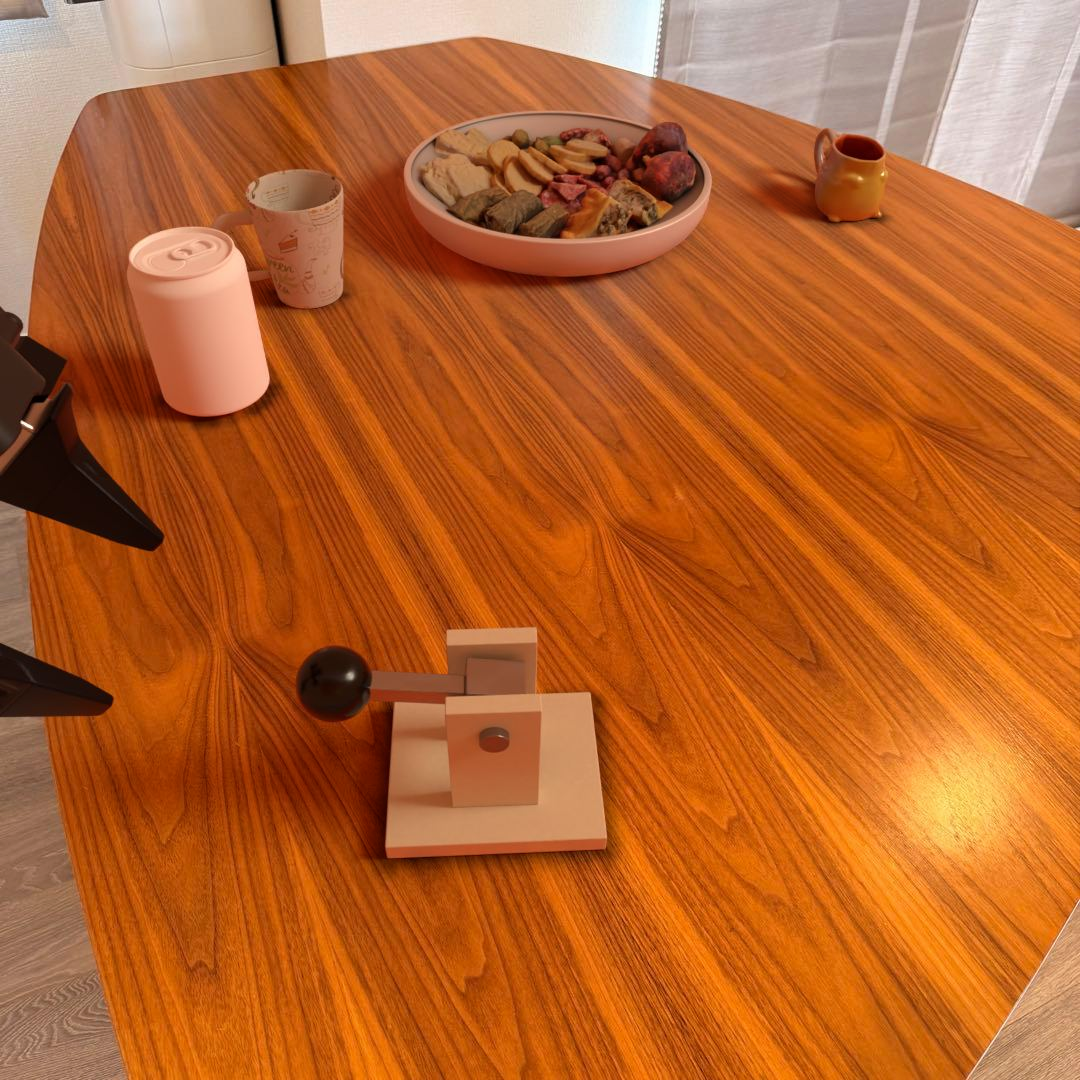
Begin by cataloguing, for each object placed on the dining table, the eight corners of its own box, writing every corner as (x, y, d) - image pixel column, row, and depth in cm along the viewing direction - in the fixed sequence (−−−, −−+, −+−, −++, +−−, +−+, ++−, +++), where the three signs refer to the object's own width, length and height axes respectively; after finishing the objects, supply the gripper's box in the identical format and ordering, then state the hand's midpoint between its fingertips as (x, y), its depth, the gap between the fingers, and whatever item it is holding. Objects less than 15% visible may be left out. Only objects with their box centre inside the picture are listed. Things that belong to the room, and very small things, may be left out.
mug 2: (889, 222, 99) (908, 158, 94) (826, 227, 98) (841, 162, 93) (843, 172, 107) (858, 111, 103) (784, 176, 106) (797, 114, 102)
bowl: (472, 320, 84) (469, 236, 79) (369, 180, 104) (361, 104, 98) (763, 256, 93) (779, 176, 88) (618, 139, 113) (624, 67, 107)
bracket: (386, 859, 49) (367, 755, 42) (395, 710, 55) (380, 600, 48) (605, 849, 49) (619, 745, 43) (589, 704, 56) (599, 594, 49)
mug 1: (361, 309, 85) (348, 206, 78) (220, 327, 83) (194, 221, 76) (349, 265, 91) (336, 165, 84) (216, 281, 88) (192, 178, 82)
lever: (291, 736, 45) (290, 689, 43) (300, 674, 48) (299, 627, 45) (517, 745, 47) (529, 701, 45) (515, 685, 50) (525, 640, 47)
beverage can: (144, 391, 76) (98, 250, 68) (232, 350, 80) (199, 212, 72) (203, 437, 72) (162, 292, 64) (292, 391, 76) (264, 250, 68)
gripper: (-377, 462, 23) (198, 716, 32) (-72, 143, 37) (276, 380, 45) (-487, 677, 28) (33, 846, 37) (-184, 328, 42) (147, 510, 50)
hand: (135, 619), depth 42 cm, fingers open, 9 cm apart
